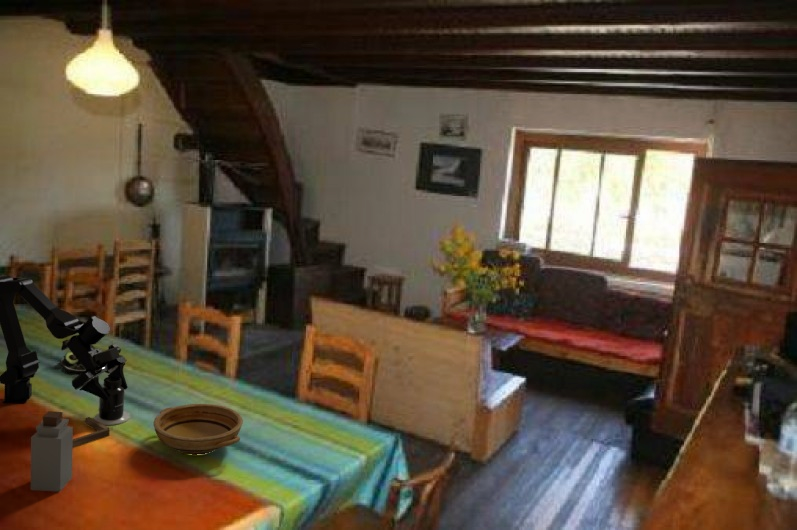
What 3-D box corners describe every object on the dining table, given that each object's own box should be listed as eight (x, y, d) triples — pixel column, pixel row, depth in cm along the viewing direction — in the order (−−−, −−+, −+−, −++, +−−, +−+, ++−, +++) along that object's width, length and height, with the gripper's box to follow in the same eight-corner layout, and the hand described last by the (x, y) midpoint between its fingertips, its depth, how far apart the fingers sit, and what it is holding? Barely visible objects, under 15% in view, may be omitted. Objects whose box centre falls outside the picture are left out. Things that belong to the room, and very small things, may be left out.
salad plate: (109, 354, 250) (109, 342, 249) (127, 368, 237) (127, 356, 237) (54, 361, 237) (55, 349, 236) (70, 377, 224) (71, 364, 223)
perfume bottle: (43, 475, 161) (44, 407, 158) (71, 477, 161) (73, 409, 158) (30, 490, 154) (31, 419, 151) (60, 491, 155) (61, 421, 152)
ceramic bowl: (127, 443, 182) (128, 416, 180) (197, 418, 202) (198, 394, 201) (198, 480, 166) (199, 451, 165) (265, 449, 186) (267, 423, 185)
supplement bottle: (120, 421, 193) (121, 383, 191) (96, 421, 192) (96, 382, 190) (125, 412, 200) (127, 375, 198) (102, 411, 198) (103, 374, 196)
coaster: (90, 425, 190) (90, 423, 190) (97, 411, 199) (97, 409, 199) (127, 425, 192) (127, 423, 192) (132, 411, 202) (132, 410, 202)
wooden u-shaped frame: (46, 435, 181) (47, 429, 181) (89, 422, 191) (89, 416, 191) (69, 448, 175) (69, 442, 175) (111, 434, 185) (111, 428, 185)
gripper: (81, 346, 183) (115, 389, 183) (122, 329, 201) (152, 369, 201) (56, 368, 186) (89, 410, 186) (98, 350, 204) (129, 389, 204)
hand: (117, 393), depth 194 cm, fingers open, 9 cm apart
